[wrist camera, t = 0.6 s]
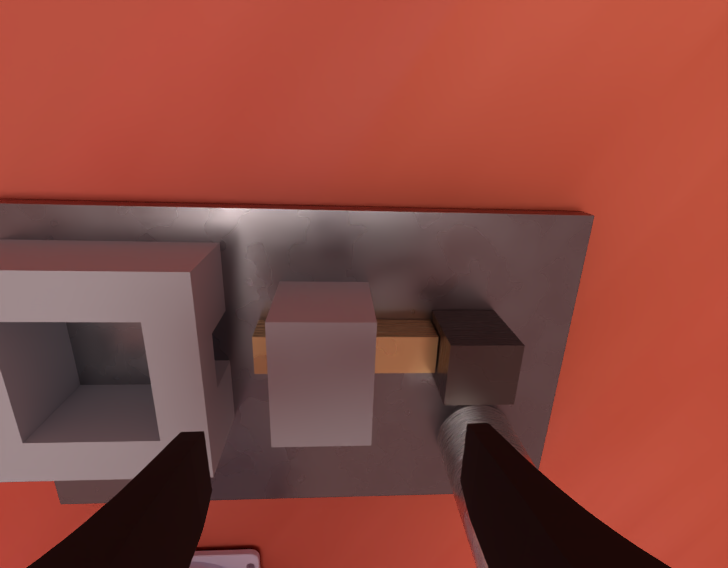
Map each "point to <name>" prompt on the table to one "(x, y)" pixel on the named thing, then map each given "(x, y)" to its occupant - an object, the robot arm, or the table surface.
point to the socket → (108, 402)
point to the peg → (452, 456)
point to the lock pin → (443, 354)
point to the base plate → (390, 300)
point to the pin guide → (321, 364)
